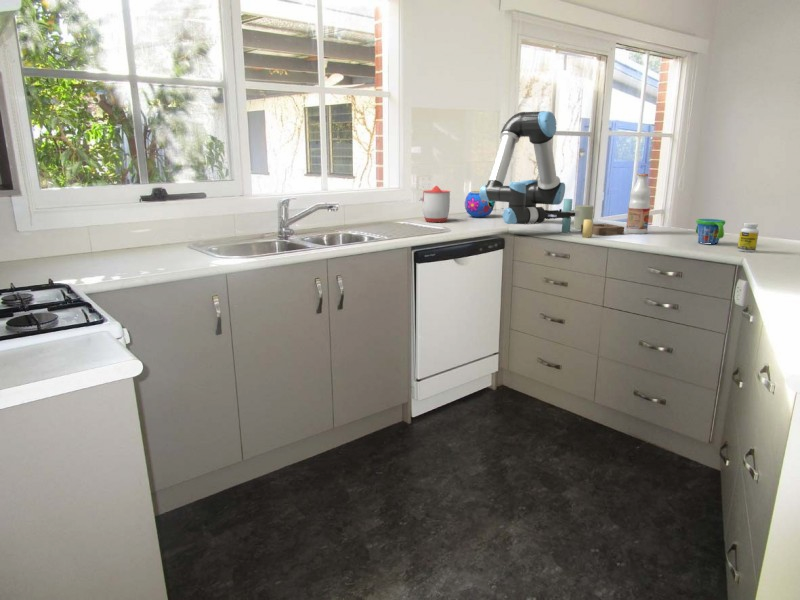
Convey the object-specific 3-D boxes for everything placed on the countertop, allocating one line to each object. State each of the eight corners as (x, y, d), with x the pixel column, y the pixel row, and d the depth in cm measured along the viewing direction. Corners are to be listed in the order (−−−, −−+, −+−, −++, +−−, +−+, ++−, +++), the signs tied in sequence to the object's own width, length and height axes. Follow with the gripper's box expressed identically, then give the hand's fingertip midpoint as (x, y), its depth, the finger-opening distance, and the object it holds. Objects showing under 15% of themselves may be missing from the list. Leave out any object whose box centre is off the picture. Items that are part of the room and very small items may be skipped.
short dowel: (580, 236, 260) (581, 219, 258) (587, 236, 261) (589, 219, 259) (585, 238, 256) (587, 220, 254) (593, 237, 257) (594, 220, 255)
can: (588, 230, 281) (590, 206, 278) (570, 228, 286) (572, 205, 283) (594, 228, 288) (596, 204, 285) (577, 226, 293) (578, 203, 290)
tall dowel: (559, 231, 275) (562, 199, 271) (566, 231, 277) (569, 198, 272) (564, 232, 272) (566, 199, 268) (571, 232, 273) (574, 199, 269)
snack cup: (686, 240, 248) (689, 217, 245) (710, 240, 248) (713, 217, 245) (704, 246, 233) (708, 222, 230) (730, 246, 233) (733, 222, 230)
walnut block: (580, 231, 276) (581, 224, 275) (604, 230, 280) (605, 223, 279) (598, 235, 263) (599, 228, 262) (623, 234, 267) (624, 226, 266)
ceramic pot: (492, 219, 326) (493, 193, 322) (462, 218, 330) (463, 192, 326) (495, 215, 342) (496, 190, 338) (466, 215, 346) (466, 190, 342)
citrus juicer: (419, 219, 324) (419, 184, 319) (449, 219, 323) (449, 184, 318) (418, 223, 309) (419, 186, 304) (450, 223, 308) (451, 186, 303)
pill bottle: (736, 251, 222) (741, 223, 219) (737, 249, 227) (742, 222, 224) (755, 253, 218) (759, 224, 216) (755, 250, 223) (760, 223, 221)
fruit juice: (624, 231, 277) (630, 173, 269) (644, 231, 275) (651, 173, 267) (627, 234, 268) (634, 174, 260) (648, 234, 266) (655, 174, 259)
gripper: (525, 220, 275) (566, 219, 282) (543, 225, 260) (586, 223, 267) (525, 205, 273) (567, 204, 280) (544, 208, 258) (587, 207, 265)
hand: (576, 213), depth 273 cm, fingers closed on tall dowel, 4 cm apart
